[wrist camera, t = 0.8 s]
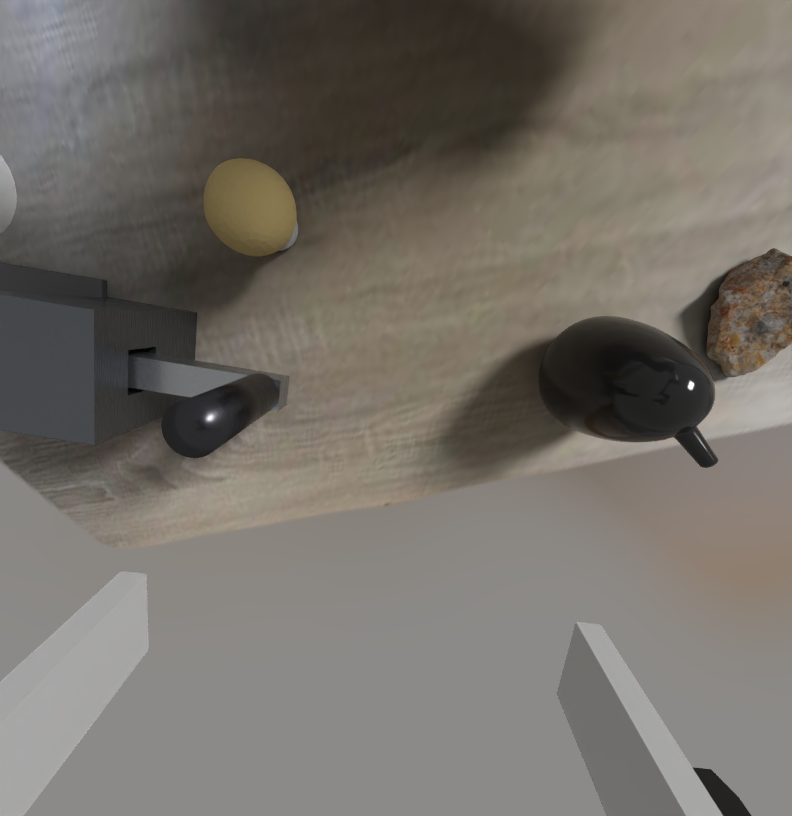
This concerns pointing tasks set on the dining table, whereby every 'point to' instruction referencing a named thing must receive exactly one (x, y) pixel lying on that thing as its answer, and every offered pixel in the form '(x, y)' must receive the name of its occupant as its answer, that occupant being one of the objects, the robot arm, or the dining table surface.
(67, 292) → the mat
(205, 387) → the shaft
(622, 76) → the dining table surface
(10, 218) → the cylinder with rectangular tab
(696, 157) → the dining table surface
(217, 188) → the light bulb
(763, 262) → the rock
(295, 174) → the dining table surface
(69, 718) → the robot arm
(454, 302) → the dining table surface
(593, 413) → the pump dispenser
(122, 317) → the bearing block
